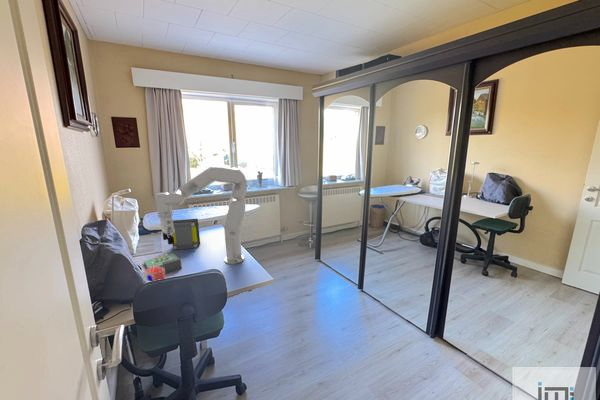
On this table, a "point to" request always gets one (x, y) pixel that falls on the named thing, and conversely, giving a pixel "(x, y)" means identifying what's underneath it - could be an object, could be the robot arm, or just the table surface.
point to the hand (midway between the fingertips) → (168, 241)
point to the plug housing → (172, 265)
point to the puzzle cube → (154, 273)
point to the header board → (159, 260)
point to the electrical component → (186, 234)
